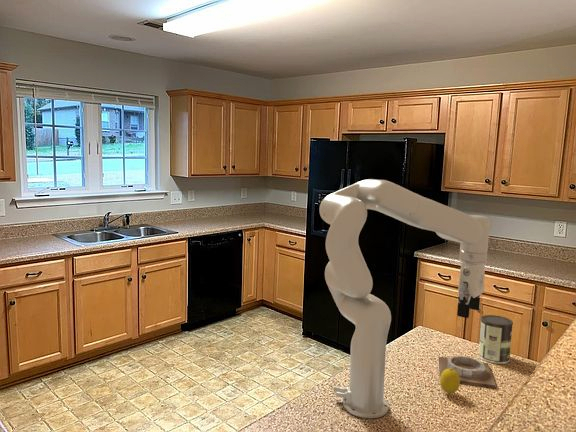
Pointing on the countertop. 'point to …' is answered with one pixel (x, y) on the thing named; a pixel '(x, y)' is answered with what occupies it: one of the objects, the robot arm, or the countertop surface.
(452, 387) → the lemon
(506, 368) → the countertop surface
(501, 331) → the coffee can
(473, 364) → the steel ring
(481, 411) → the countertop surface
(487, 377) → the walnut board
